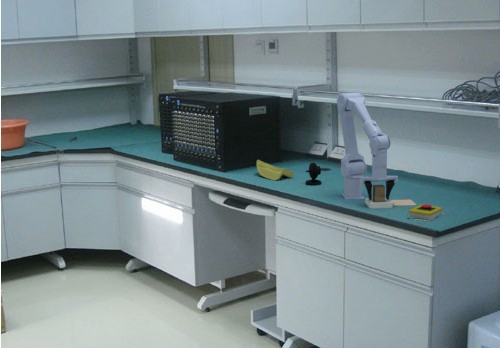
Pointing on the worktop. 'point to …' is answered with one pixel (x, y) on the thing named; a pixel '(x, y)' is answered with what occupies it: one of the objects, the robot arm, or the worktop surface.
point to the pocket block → (378, 204)
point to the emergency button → (425, 212)
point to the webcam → (313, 174)
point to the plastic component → (272, 171)
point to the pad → (402, 202)
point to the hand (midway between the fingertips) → (378, 199)
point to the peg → (378, 193)
